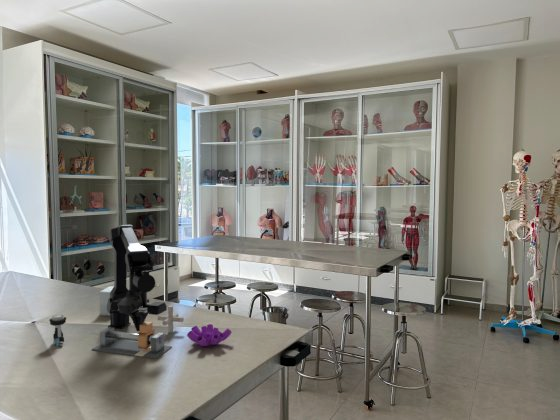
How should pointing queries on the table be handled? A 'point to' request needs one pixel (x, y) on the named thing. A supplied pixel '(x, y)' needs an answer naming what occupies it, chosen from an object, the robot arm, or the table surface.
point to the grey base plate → (130, 349)
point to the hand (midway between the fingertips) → (138, 330)
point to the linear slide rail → (110, 334)
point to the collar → (145, 335)
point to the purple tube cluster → (208, 335)
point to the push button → (58, 329)
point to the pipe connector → (170, 319)
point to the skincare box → (104, 300)
